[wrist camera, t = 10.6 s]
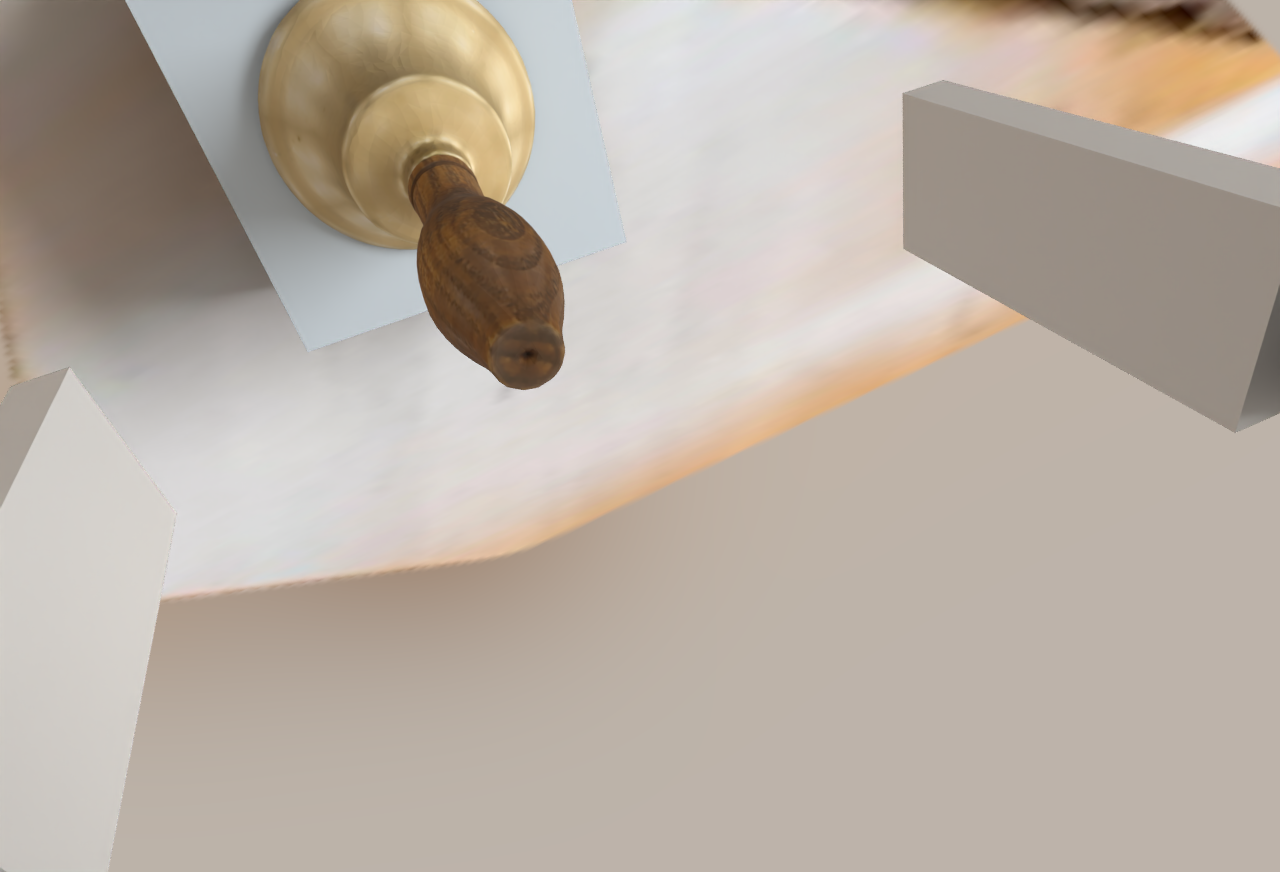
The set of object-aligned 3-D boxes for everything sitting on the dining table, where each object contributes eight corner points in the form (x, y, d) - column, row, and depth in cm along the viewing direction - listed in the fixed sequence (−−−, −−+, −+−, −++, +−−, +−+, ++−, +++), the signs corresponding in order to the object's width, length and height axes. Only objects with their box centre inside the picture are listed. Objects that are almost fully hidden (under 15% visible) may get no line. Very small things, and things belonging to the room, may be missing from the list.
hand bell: (570, 182, 28) (801, 413, 16) (354, 288, 28) (418, 615, 15) (464, -83, 23) (682, -44, 11) (193, 39, 22) (96, 231, 10)
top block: (132, -44, 25) (105, -37, 21) (505, -139, 27) (538, -148, 23) (305, 303, 32) (307, 352, 28) (591, 207, 34) (626, 242, 30)
